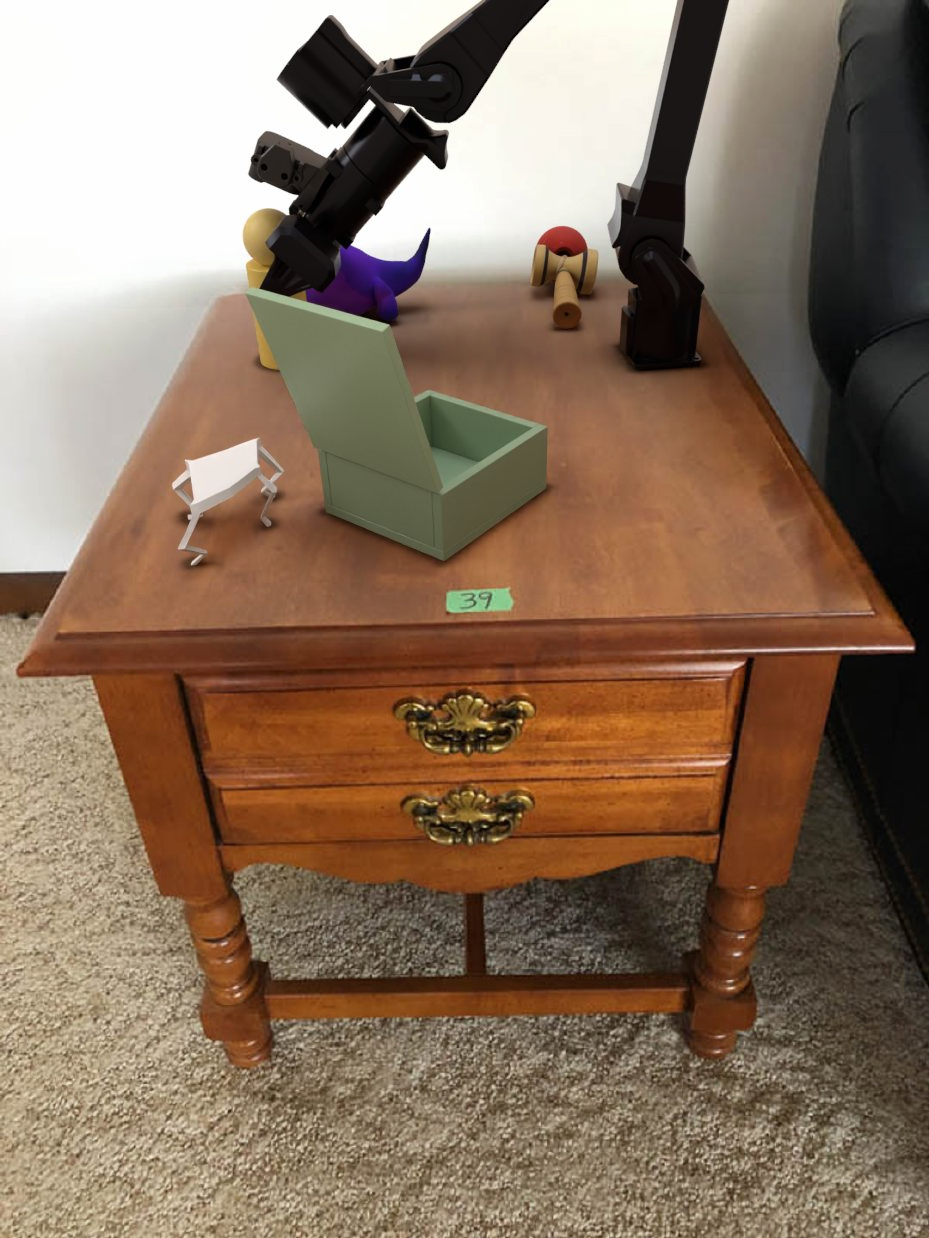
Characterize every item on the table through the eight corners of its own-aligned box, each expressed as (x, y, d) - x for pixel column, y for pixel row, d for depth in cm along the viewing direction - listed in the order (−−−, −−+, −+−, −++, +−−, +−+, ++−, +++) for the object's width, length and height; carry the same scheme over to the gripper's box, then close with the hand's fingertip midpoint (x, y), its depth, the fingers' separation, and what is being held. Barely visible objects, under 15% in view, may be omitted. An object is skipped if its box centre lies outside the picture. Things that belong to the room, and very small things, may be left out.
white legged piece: (186, 492, 81) (174, 435, 78) (292, 490, 81) (284, 433, 78) (147, 579, 71) (131, 518, 68) (267, 577, 71) (256, 516, 68)
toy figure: (313, 347, 104) (295, 200, 96) (313, 368, 100) (294, 215, 91) (261, 351, 104) (239, 203, 95) (259, 372, 100) (235, 219, 91)
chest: (431, 448, 86) (428, 389, 83) (546, 488, 80) (548, 426, 77) (325, 512, 78) (317, 449, 75) (444, 561, 72) (441, 495, 69)
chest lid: (251, 286, 65) (244, 293, 64) (389, 324, 59) (382, 331, 58) (319, 441, 75) (313, 447, 74) (443, 487, 69) (437, 493, 68)
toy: (419, 305, 116) (284, 302, 113) (424, 216, 111) (282, 211, 108) (431, 333, 109) (288, 331, 106) (437, 240, 104) (287, 235, 101)
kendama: (611, 339, 107) (598, 260, 120) (603, 283, 102) (591, 207, 115) (537, 353, 108) (532, 273, 121) (527, 298, 104) (523, 221, 116)
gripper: (314, 79, 95) (217, 205, 102) (275, 122, 80) (165, 266, 87) (405, 167, 99) (306, 283, 107) (383, 224, 84) (270, 354, 92)
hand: (263, 293), depth 98 cm, fingers closed on toy figure, 5 cm apart
